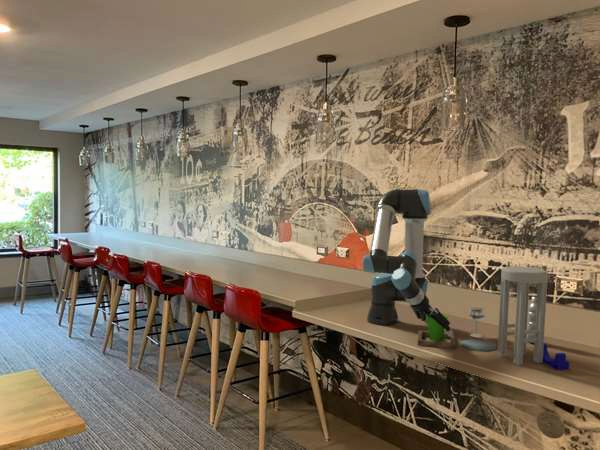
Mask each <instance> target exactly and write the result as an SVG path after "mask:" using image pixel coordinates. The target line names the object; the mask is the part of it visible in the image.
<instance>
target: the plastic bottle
mask: <svg viewBox="0 0 600 450" xmlns="http://www.w3.org/2000/svg"><path fill="white" fill-rule="evenodd" d="M536 305H537V295H532V296H531V302H530V303H529V304H528V317H527V330H535V323H536ZM526 338H535V334H527V336H526ZM530 343H531V344H534V342H530Z"/></svg>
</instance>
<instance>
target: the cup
mask: <svg viewBox="0 0 600 450" xmlns="http://www.w3.org/2000/svg"><path fill="white" fill-rule="evenodd" d="M441 314H442V313H441ZM430 315H431V314H430ZM442 315H443V316H444V317H445V318H446V319H447V320H448V319H449V316H448V315H446V314H442ZM426 318H427V320H428V326H427V327H428V331H429V340H431V341H442V342H444V338H443V337H444V333H445V331H444V330H443V329H442V326H441V325H440V324H439V323H437V322H436V321H435V320H434V319H433V318H432V317H431V318H430V317H429V316H427V315H426Z"/></svg>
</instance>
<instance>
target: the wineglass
mask: <svg viewBox="0 0 600 450" xmlns="http://www.w3.org/2000/svg"><path fill="white" fill-rule="evenodd" d="M468 315H469V317H470V319H472V320H473V321H474V322H475V333H470V336H471V337H473V338H474V337H475V338H482V337H483V336H482V335H481V334H479V333H478V324H479V322H481V321H482V320H484V319H485V316H486V309H485V308H482V307H475V306H474V307H469V312H468Z"/></svg>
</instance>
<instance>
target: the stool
mask: <svg viewBox="0 0 600 450" xmlns="http://www.w3.org/2000/svg"><path fill="white" fill-rule="evenodd" d="M500 274H501V277H500V278H501V280H500V294H499V295H500V297H499V314H498V315H499V317H498V335H497V336H498V337H497V356H498V357H500V358H501V357H502V358H503V357H504V358H505V357H507V345H508V341H507V340H508V336H514V342H513V343H514V345H513V360H512V363H513V364H514V365H516V366H520V365H523V363H524V361H523V360H524V359H523V358H524V356H525V355H527V354H526V351H527V343H531V342H534V343H533V344H534V345H533V360H532V361H533V362H535V363H537V364H541V363H544V362H543V347H544V344H545V330H546V329H545V328H546V326H545V325H546V310H547V309H546V307H547V295H548V294H547V289H548V276H549V274H548V271H546V270H545V269H543V268H538V267H532V266H531V267H530V266H519V265H515V266H512V265H511V266H504V267H502V268H501V273H500ZM510 282H514V283H515V282H516V284H517V286H516V302H515V303H516V304H515V305H516V306H515V323H509V308H510V307H509V305H510V290H511V289H510V287H511V283H510ZM530 284H537V290H536V296H537V305H536V323H535V330H528V306H529V297H530ZM511 328H513V329H514V331H508V329H511ZM527 334H535V338H526V336H527Z"/></svg>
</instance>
